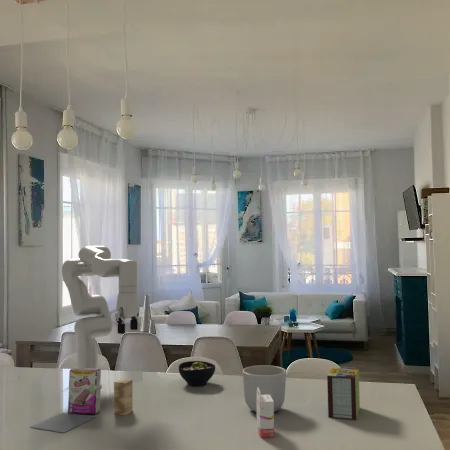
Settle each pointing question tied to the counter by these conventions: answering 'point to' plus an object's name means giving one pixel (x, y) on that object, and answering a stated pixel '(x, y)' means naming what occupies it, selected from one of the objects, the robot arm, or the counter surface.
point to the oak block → (123, 397)
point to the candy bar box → (84, 390)
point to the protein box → (343, 392)
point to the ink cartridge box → (265, 415)
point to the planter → (264, 384)
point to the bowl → (196, 372)
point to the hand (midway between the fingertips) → (127, 331)
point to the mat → (62, 422)
